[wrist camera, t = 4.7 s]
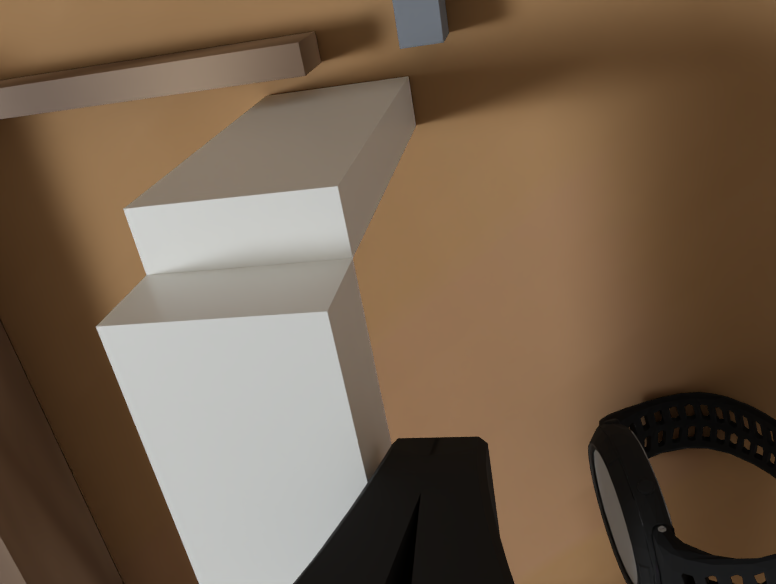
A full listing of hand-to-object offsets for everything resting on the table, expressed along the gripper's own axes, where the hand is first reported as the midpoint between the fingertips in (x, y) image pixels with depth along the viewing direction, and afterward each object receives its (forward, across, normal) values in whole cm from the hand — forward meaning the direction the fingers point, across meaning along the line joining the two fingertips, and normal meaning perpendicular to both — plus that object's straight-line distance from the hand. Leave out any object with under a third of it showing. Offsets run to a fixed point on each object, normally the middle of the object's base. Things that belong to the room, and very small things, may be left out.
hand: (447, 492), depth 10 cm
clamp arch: (+7, +2, +4) cm, 8 cm away
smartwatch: (+7, -4, +4) cm, 10 cm away
